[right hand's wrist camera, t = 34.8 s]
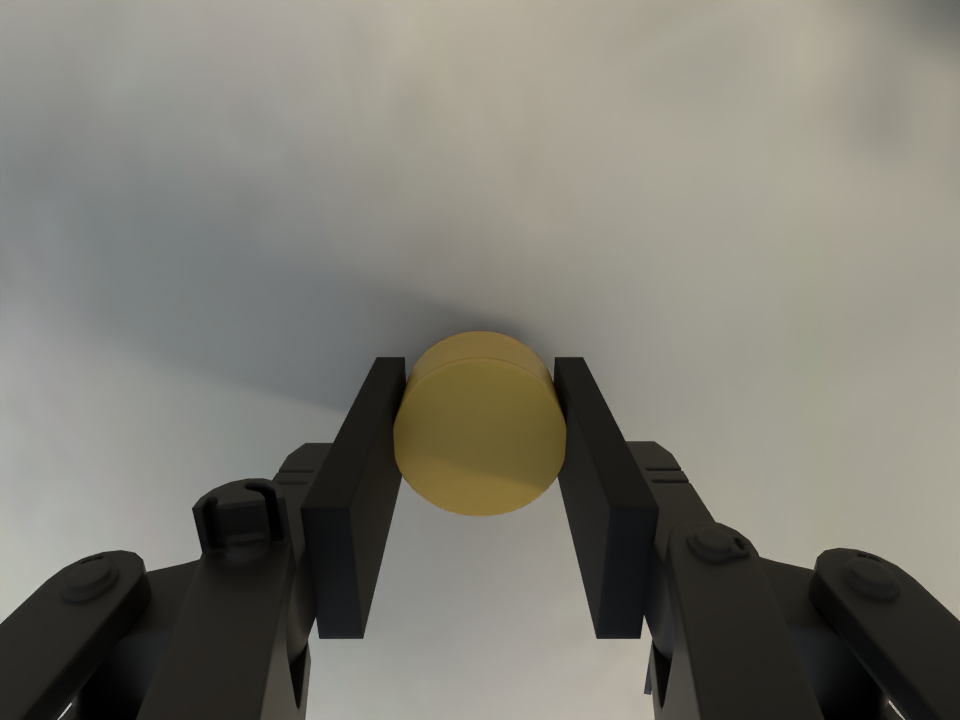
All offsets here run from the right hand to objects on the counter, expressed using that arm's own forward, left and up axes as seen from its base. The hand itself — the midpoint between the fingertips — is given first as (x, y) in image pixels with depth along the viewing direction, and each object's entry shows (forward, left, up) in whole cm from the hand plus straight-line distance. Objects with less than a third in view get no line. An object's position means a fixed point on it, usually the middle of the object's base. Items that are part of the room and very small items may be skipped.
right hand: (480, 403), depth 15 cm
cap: (0, 0, +2) cm, 2 cm away
